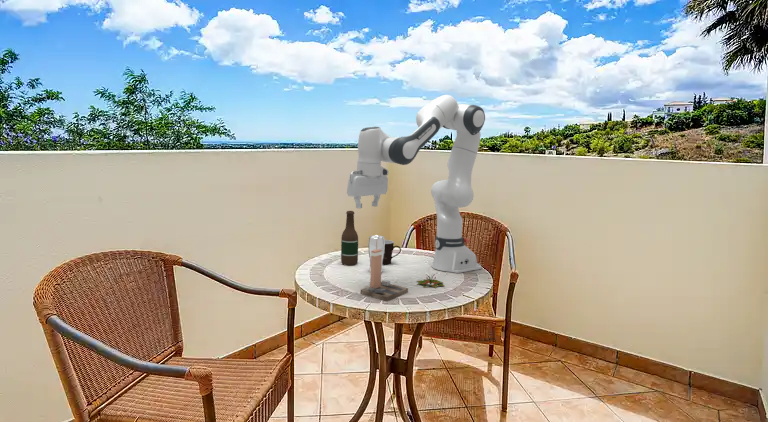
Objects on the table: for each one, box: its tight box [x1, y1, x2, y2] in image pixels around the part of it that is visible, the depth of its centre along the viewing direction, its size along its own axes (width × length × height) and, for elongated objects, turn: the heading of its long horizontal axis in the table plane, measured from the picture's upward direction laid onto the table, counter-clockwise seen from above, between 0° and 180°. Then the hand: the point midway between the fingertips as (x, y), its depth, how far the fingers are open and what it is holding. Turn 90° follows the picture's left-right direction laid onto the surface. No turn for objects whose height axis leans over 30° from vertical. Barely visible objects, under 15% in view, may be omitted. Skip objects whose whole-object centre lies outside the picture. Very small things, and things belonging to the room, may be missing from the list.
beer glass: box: [367, 234, 386, 273], centre depth 193 cm, size 7×7×15 cm
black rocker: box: [374, 288, 387, 293], centre depth 160 cm, size 4×2×1 cm, turn 53°
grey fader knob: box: [381, 279, 391, 286], centre depth 169 cm, size 2×2×2 cm
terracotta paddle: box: [369, 249, 382, 288], centre depth 165 cm, size 2×4×14 cm, turn 143°
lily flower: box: [416, 273, 445, 289], centre depth 178 cm, size 12×12×5 cm
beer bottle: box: [340, 210, 359, 267], centre depth 203 cm, size 8×8×24 cm
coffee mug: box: [382, 239, 402, 266], centre depth 206 cm, size 12×9×10 cm
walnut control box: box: [360, 281, 409, 302], centre depth 166 cm, size 12×13×3 cm
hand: (367, 207), depth 171 cm, fingers open, 8 cm apart
